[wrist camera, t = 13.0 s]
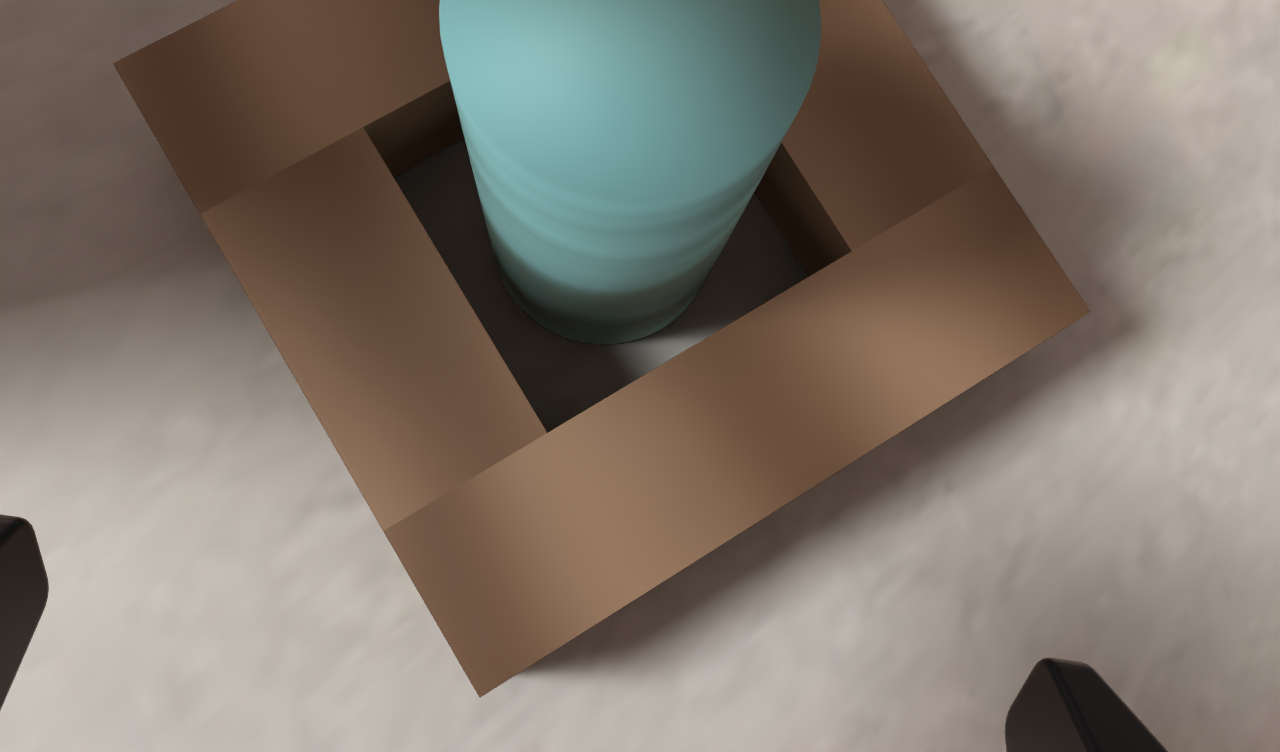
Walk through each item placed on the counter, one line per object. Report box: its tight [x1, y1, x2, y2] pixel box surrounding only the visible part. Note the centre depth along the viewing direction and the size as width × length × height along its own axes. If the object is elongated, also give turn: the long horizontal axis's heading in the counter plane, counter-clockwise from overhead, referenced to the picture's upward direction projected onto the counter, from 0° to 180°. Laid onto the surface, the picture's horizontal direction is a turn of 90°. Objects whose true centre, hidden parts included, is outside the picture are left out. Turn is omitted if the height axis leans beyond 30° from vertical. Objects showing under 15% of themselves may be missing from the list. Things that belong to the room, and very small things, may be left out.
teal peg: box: [439, 0, 821, 345], centre depth 18 cm, size 5×5×10 cm
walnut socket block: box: [113, 0, 1090, 697], centre depth 22 cm, size 14×14×3 cm
